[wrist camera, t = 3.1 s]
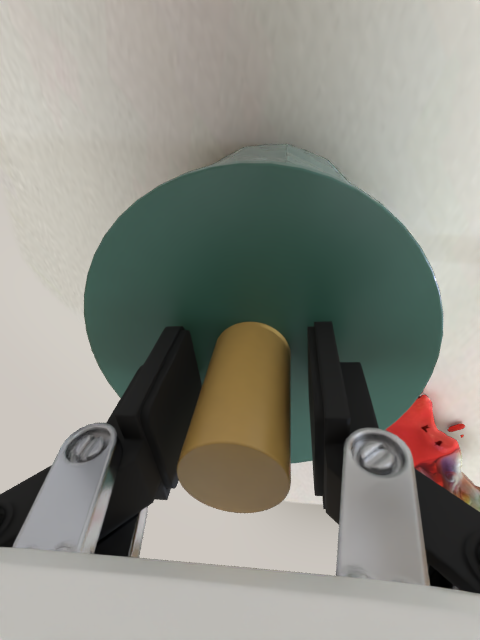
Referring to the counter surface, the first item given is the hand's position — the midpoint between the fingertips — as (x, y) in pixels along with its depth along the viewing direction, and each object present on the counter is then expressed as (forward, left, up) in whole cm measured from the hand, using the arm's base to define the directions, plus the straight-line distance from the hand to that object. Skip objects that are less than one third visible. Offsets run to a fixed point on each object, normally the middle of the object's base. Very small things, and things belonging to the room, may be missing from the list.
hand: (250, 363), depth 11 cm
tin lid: (0, 0, -1) cm, 1 cm away
